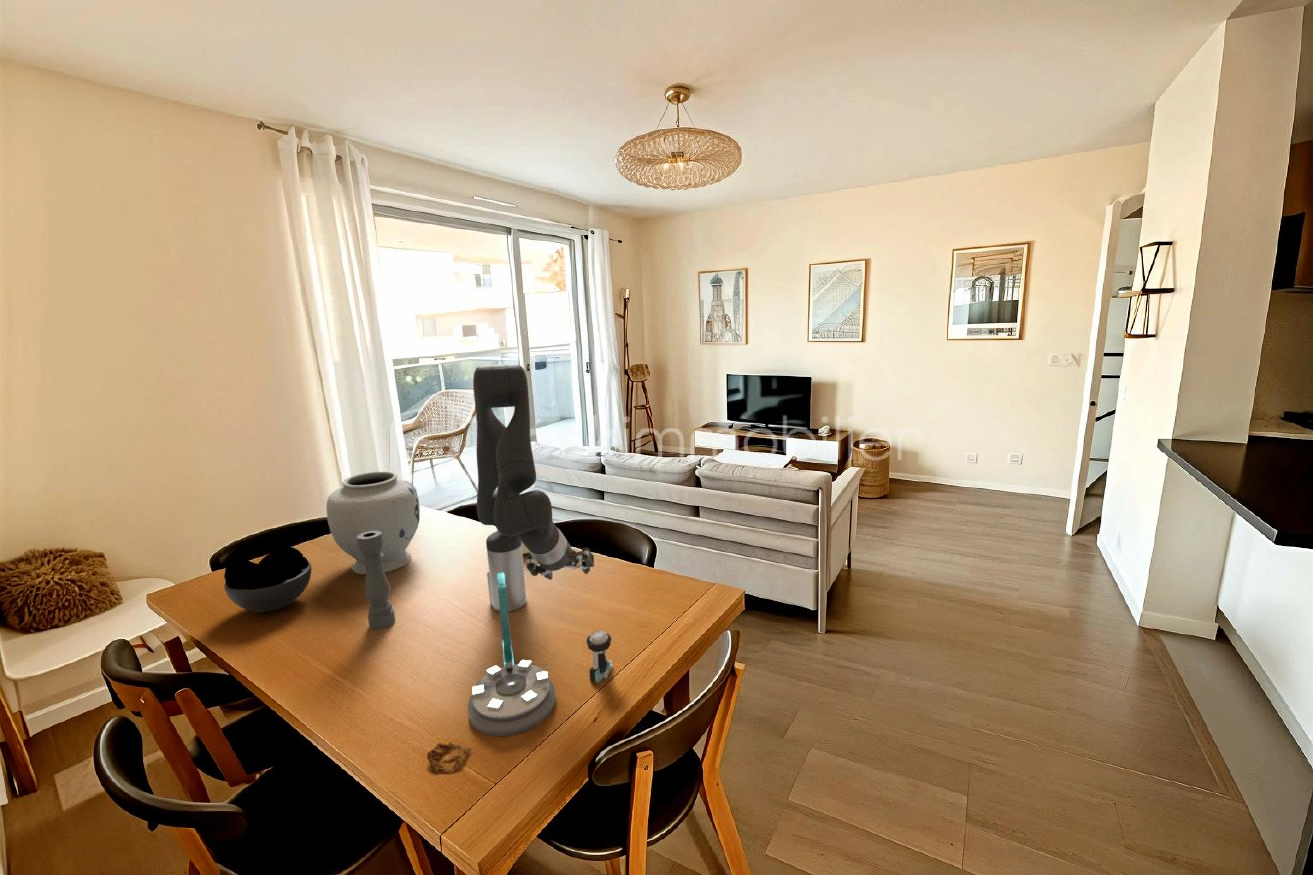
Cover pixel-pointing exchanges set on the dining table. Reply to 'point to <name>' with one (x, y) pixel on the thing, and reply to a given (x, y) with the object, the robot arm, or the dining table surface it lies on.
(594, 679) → the push button
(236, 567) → the coal bowl
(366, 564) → the candle holder
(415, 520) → the grey ceramic vase
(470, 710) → the round gray base
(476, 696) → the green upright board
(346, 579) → the dining table surface
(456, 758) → the leaf
